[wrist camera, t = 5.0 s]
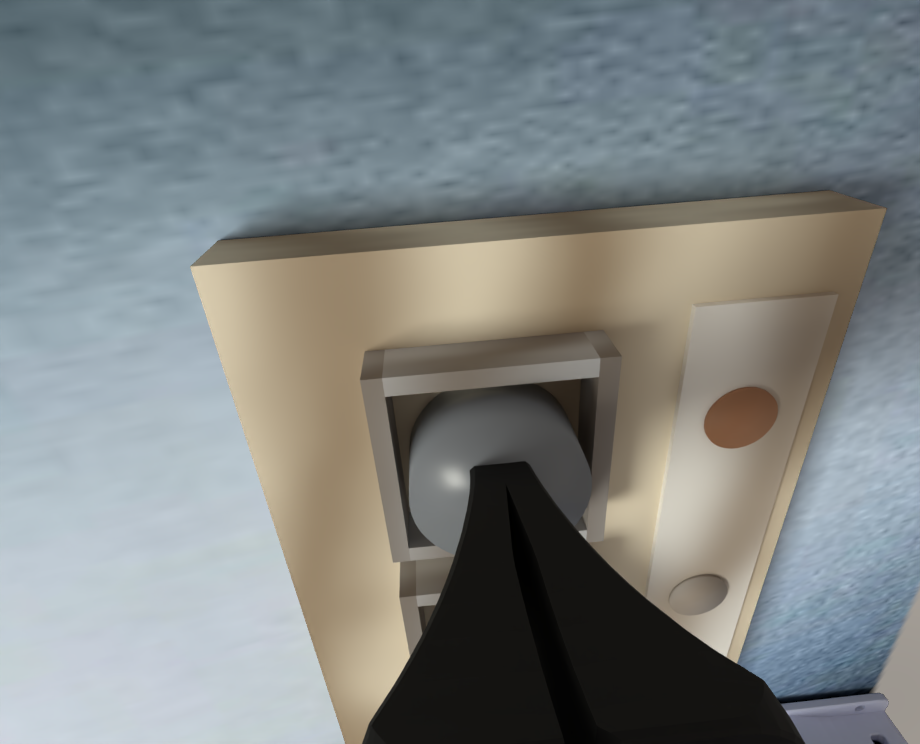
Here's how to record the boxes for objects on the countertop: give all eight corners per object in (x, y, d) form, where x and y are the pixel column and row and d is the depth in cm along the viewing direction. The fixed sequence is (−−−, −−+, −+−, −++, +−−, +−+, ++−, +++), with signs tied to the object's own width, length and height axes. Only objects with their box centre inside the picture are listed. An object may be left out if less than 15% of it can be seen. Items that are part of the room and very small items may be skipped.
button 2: (574, 368, 14) (598, 412, 12) (567, 497, 16) (587, 551, 14) (400, 384, 14) (398, 431, 12) (418, 513, 16) (418, 568, 14)
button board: (829, 190, 14) (937, 223, 11) (685, 720, 27) (718, 799, 24) (218, 240, 14) (164, 289, 11) (368, 756, 27) (363, 842, 24)
